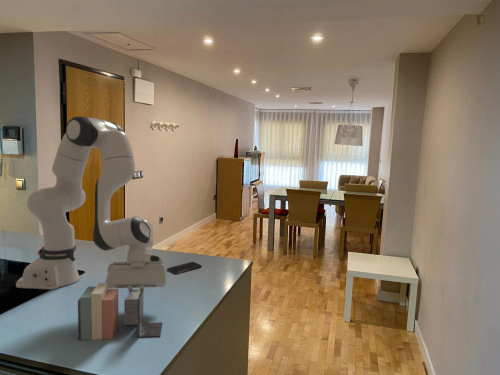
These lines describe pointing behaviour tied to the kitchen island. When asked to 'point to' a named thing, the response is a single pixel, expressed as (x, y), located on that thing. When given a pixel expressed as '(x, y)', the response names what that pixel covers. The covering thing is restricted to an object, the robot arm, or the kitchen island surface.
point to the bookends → (143, 328)
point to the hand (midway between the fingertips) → (134, 299)
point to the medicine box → (131, 308)
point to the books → (99, 312)
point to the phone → (184, 268)
